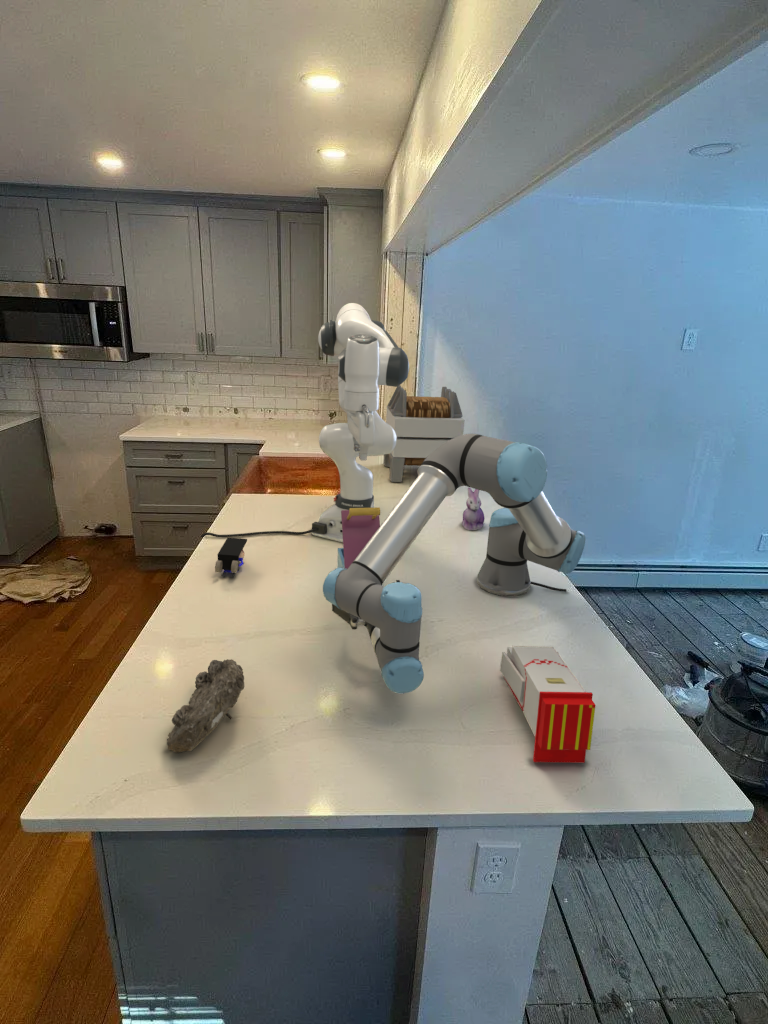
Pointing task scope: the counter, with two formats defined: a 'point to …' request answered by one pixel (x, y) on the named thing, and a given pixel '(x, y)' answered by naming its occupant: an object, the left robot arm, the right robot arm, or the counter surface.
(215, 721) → the fossil
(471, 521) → the figurine
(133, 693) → the counter surface
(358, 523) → the lid
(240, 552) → the figurine character
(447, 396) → the transformer
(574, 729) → the toy
